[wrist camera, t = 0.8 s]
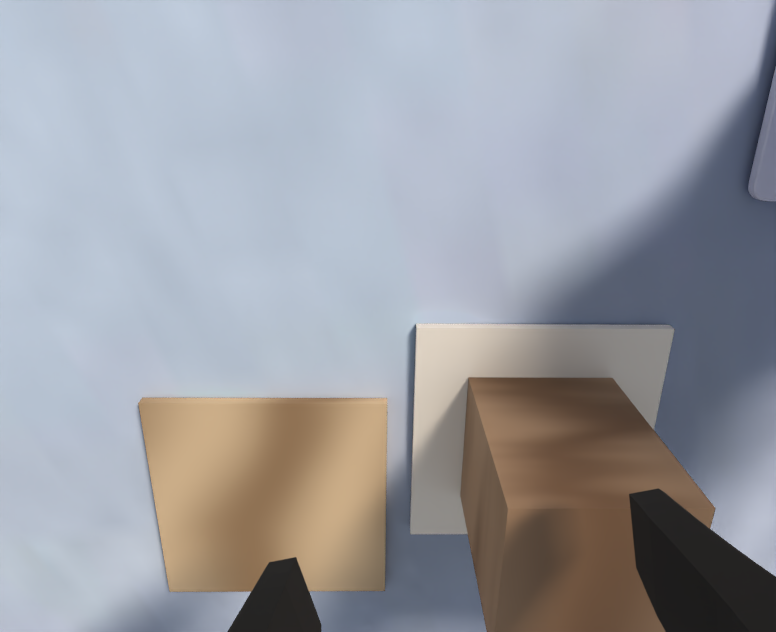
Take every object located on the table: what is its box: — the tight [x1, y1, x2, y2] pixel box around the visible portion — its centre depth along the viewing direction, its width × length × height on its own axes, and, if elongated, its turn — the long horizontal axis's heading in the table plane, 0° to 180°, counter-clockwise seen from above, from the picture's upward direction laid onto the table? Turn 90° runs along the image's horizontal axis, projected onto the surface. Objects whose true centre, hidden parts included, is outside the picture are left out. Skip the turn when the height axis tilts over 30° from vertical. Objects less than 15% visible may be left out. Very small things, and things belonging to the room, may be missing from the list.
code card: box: [410, 324, 675, 534], centre depth 22 cm, size 9×9×1 cm
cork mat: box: [138, 398, 387, 592], centre depth 23 cm, size 9×9×1 cm
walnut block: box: [460, 377, 715, 632], centre depth 19 cm, size 5×5×7 cm
